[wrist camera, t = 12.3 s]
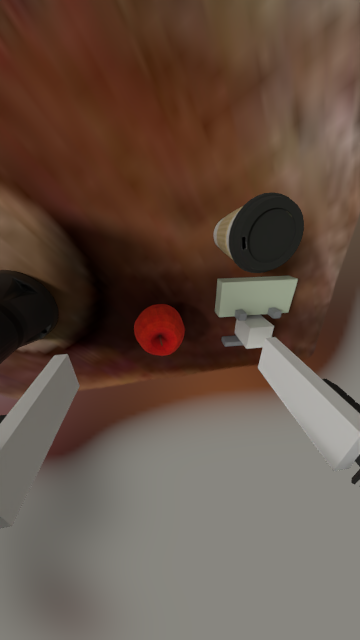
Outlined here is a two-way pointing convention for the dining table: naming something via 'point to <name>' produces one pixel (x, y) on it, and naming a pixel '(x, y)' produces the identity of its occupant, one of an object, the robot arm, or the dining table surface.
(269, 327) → the gray rectangular prism
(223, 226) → the coffee cup
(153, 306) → the apple
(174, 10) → the dining table surface
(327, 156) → the dining table surface
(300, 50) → the dining table surface
